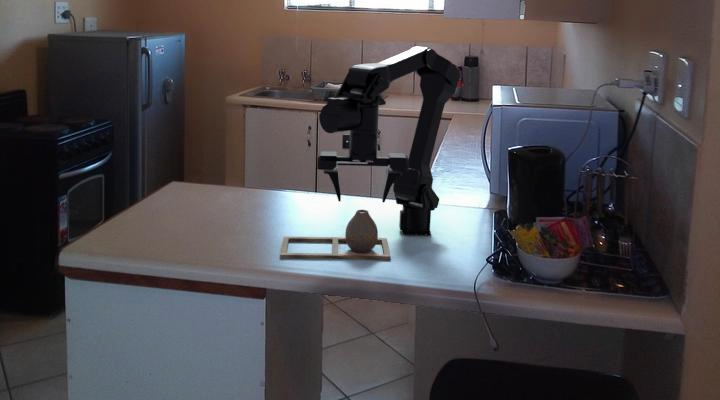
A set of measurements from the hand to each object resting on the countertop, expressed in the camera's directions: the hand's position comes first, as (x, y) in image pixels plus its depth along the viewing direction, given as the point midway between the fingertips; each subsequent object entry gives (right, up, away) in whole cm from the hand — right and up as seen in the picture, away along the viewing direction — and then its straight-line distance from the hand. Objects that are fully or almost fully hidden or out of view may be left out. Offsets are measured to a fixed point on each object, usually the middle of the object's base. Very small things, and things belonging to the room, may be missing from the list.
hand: (361, 201), depth 161 cm
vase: (0, -11, +3) cm, 11 cm away
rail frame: (-6, -10, +3) cm, 12 cm away
